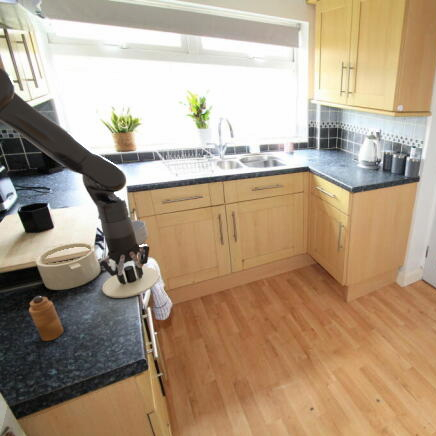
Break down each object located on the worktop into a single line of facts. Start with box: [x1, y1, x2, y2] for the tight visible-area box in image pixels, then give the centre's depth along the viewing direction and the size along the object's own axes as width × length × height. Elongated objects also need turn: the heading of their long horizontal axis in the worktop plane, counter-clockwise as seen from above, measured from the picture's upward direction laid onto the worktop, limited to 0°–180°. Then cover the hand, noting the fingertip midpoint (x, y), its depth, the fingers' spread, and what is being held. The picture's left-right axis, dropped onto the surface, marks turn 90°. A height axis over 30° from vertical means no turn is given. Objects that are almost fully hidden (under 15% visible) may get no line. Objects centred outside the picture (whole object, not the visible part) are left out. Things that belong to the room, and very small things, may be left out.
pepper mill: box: [28, 295, 65, 342], centre depth 78 cm, size 4×4×12 cm
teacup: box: [131, 219, 149, 245], centre depth 123 cm, size 14×11×8 cm
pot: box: [35, 242, 101, 291], centre depth 102 cm, size 15×20×8 cm
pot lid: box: [101, 265, 161, 299], centre depth 100 cm, size 16×16×6 cm
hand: (131, 279), depth 100 cm, fingers open, 4 cm apart
